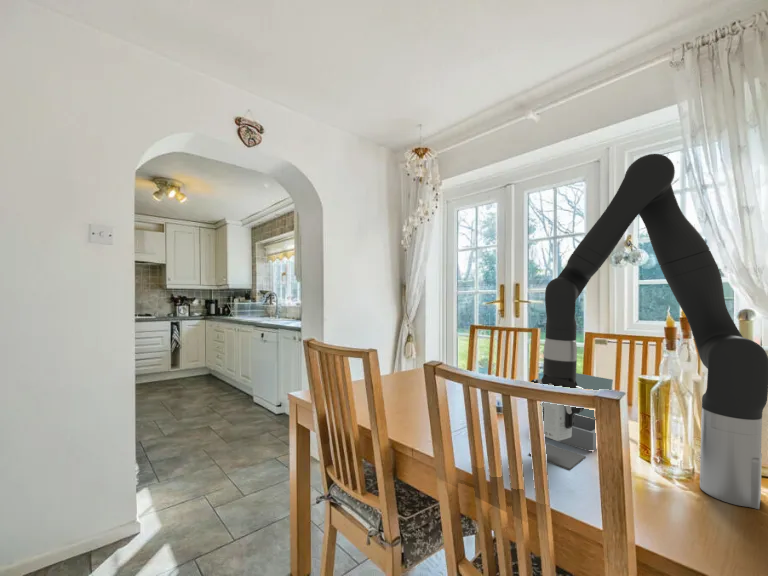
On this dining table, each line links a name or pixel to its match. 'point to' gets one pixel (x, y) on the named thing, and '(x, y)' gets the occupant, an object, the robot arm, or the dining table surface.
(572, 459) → the rubber mat
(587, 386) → the lid
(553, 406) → the skincare box
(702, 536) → the dining table surface
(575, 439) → the grey open box
